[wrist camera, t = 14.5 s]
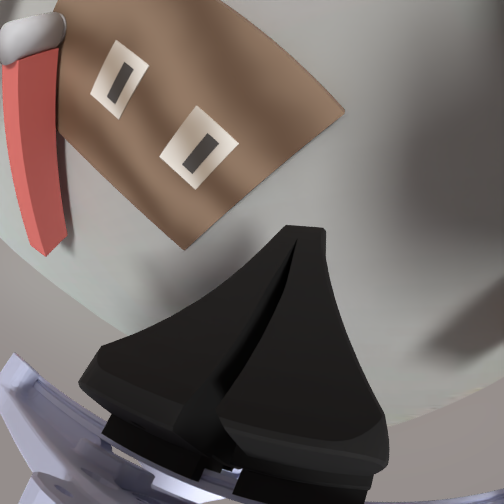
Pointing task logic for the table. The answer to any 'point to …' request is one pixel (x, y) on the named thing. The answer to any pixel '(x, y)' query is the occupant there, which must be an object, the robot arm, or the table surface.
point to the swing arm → (33, 123)
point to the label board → (181, 105)
